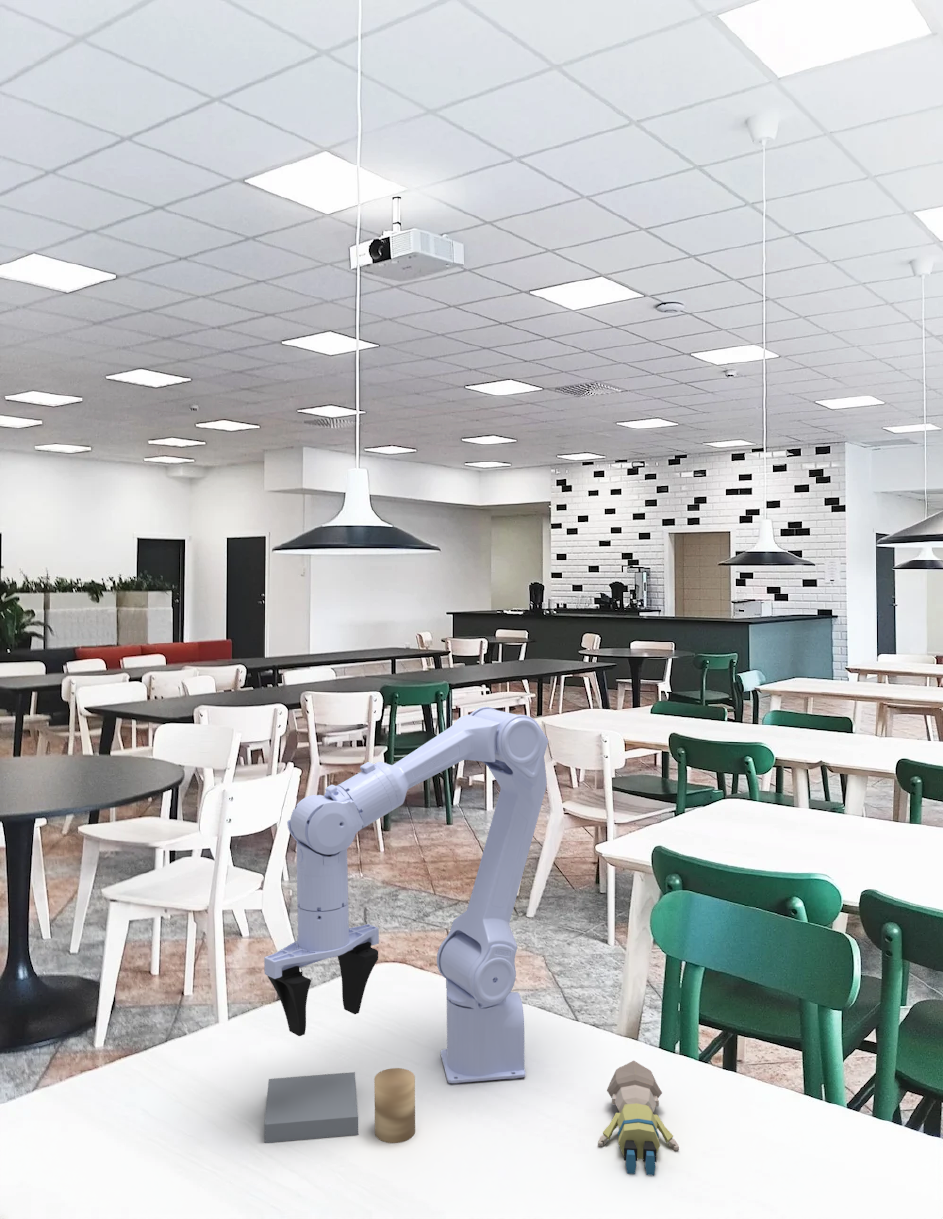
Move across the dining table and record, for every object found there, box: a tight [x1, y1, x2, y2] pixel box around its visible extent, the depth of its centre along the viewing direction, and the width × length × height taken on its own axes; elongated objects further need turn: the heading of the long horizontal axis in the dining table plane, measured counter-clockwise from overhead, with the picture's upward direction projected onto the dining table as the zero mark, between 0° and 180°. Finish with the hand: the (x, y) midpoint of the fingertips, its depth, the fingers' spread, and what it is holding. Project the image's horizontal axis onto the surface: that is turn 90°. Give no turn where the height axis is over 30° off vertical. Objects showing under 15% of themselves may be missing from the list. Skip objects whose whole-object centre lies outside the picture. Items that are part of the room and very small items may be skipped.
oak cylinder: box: [373, 1067, 416, 1144], centre depth 112 cm, size 4×4×6 cm
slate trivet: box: [263, 1071, 359, 1144], centre depth 115 cm, size 10×10×2 cm
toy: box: [597, 1060, 680, 1176], centre depth 111 cm, size 8×5×15 cm
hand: (324, 1021), depth 116 cm, fingers open, 7 cm apart
